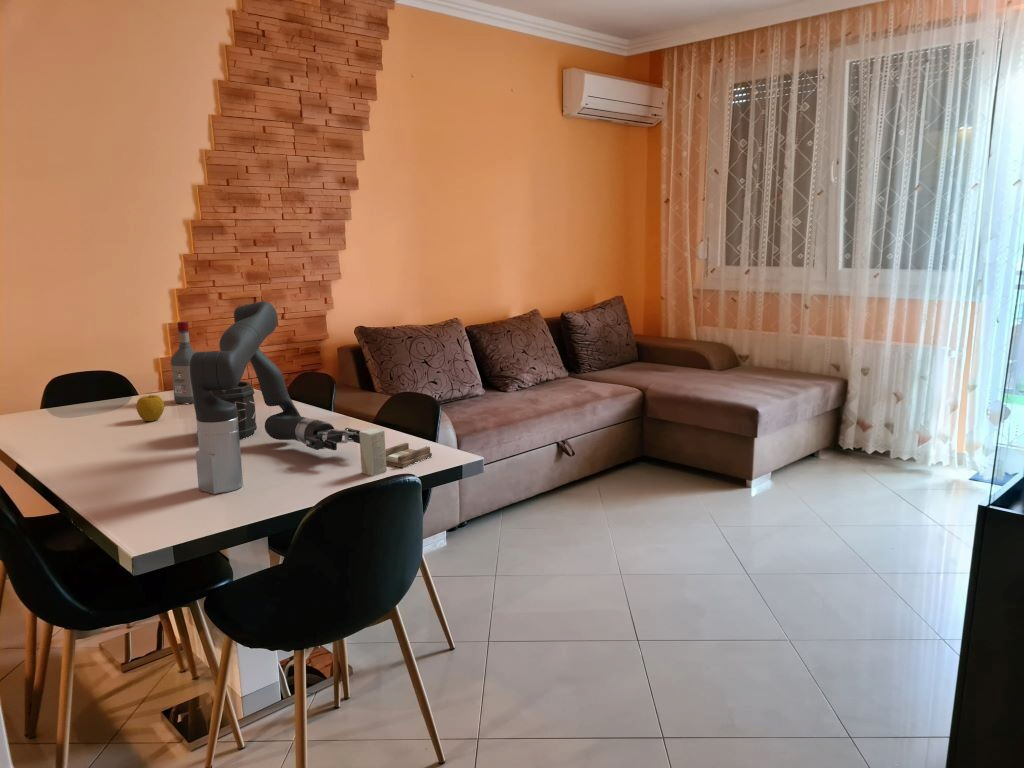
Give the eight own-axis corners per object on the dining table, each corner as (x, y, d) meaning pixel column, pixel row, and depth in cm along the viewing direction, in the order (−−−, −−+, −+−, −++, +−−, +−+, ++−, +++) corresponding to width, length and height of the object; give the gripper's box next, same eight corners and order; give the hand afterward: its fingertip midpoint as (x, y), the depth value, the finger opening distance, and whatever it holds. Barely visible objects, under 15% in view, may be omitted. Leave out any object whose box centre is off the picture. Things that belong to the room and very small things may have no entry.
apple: (155, 424, 245) (152, 398, 244) (131, 423, 247) (129, 397, 245) (170, 418, 254) (168, 393, 252) (148, 417, 255) (145, 392, 253)
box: (376, 468, 195) (374, 427, 193) (387, 471, 192) (385, 430, 190) (360, 473, 191) (358, 431, 189) (371, 476, 189) (369, 434, 186)
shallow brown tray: (403, 468, 195) (402, 457, 195) (374, 462, 201) (374, 452, 200) (431, 457, 205) (431, 447, 205) (404, 451, 211) (403, 442, 210)
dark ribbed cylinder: (207, 446, 218) (203, 393, 215) (189, 434, 232) (184, 385, 229) (267, 436, 229) (264, 386, 226) (246, 425, 243) (243, 378, 240)
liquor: (192, 404, 275) (185, 323, 270) (171, 403, 277) (163, 323, 272) (208, 399, 284) (201, 321, 279) (187, 398, 286) (180, 320, 281)
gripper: (291, 424, 202) (325, 434, 191) (335, 415, 213) (370, 424, 202) (293, 451, 204) (327, 462, 193) (337, 441, 214) (371, 451, 203)
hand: (349, 443), depth 197 cm, fingers open, 8 cm apart
